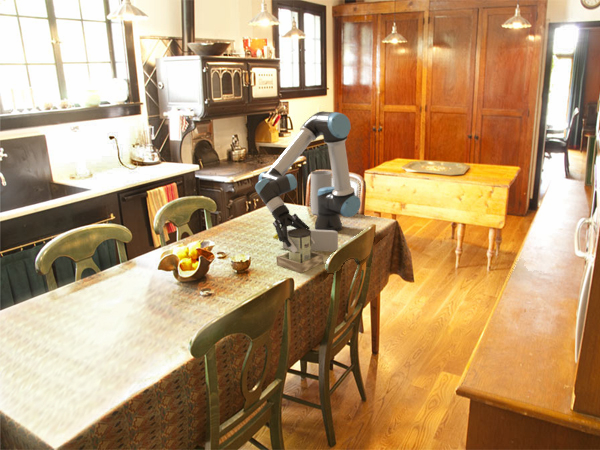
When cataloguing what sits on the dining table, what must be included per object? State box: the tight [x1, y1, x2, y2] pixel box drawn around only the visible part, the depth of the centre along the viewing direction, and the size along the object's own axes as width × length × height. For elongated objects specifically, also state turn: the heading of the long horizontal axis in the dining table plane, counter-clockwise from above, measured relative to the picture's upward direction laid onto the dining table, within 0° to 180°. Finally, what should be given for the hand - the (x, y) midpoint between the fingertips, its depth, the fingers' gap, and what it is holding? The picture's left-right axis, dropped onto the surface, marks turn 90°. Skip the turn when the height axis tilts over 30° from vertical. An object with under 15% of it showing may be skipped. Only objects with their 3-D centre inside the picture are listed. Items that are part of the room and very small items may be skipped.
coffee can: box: [288, 228, 312, 263], centre depth 219 cm, size 10×10×14 cm
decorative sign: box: [272, 227, 339, 252], centre depth 238 cm, size 32×4×10 cm, turn 78°
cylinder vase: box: [310, 170, 333, 216], centre depth 296 cm, size 12×12×25 cm
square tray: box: [275, 250, 324, 274], centre depth 220 cm, size 15×15×4 cm
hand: (304, 248), depth 217 cm, fingers open, 11 cm apart
